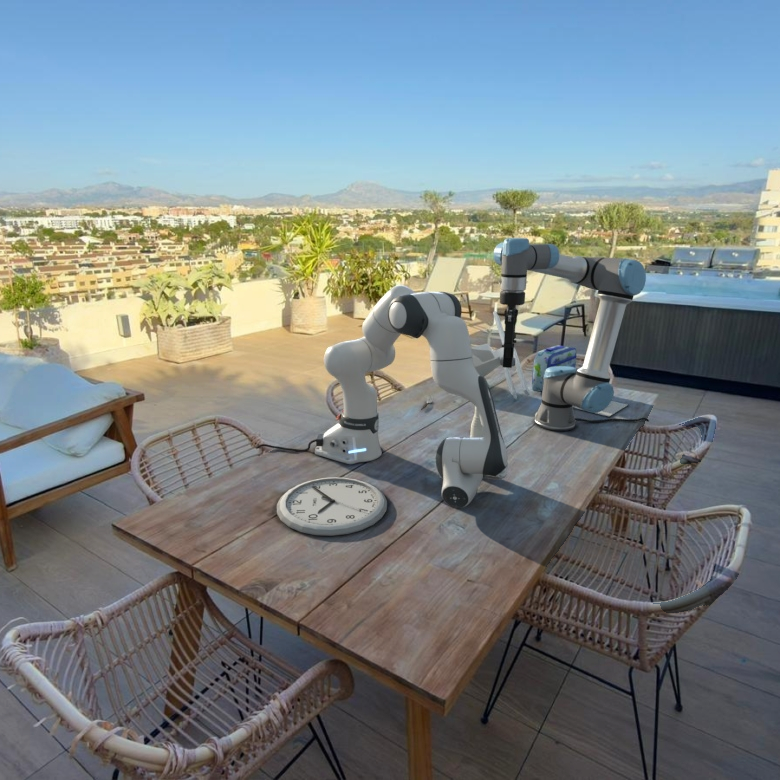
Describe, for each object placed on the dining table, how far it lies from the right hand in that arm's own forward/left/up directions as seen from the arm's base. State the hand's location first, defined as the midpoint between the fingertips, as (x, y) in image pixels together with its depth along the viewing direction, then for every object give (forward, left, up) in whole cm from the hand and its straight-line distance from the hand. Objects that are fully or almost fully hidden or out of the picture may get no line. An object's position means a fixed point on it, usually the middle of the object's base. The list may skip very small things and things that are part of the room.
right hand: (507, 364), depth 166 cm
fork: (+27, -48, -32) cm, 64 cm away
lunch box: (-31, -80, -32) cm, 92 cm away
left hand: (+8, +13, -25) cm, 30 cm away
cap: (0, 0, +2) cm, 2 cm away
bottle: (+9, +14, -32) cm, 36 cm away
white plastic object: (+4, -71, -32) cm, 78 cm away
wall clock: (+48, +40, -32) cm, 70 cm away
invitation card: (-48, -59, -32) cm, 82 cm away
